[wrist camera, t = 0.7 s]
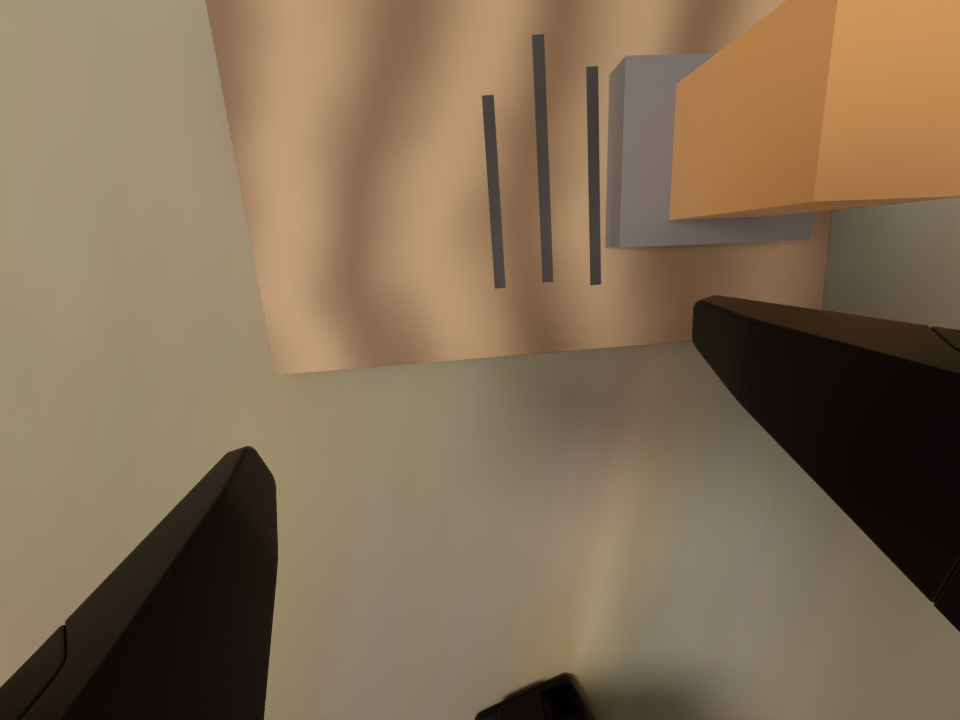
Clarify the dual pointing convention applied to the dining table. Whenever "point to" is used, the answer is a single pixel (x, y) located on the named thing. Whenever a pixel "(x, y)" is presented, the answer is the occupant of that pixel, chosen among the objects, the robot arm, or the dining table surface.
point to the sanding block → (786, 124)
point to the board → (464, 178)
